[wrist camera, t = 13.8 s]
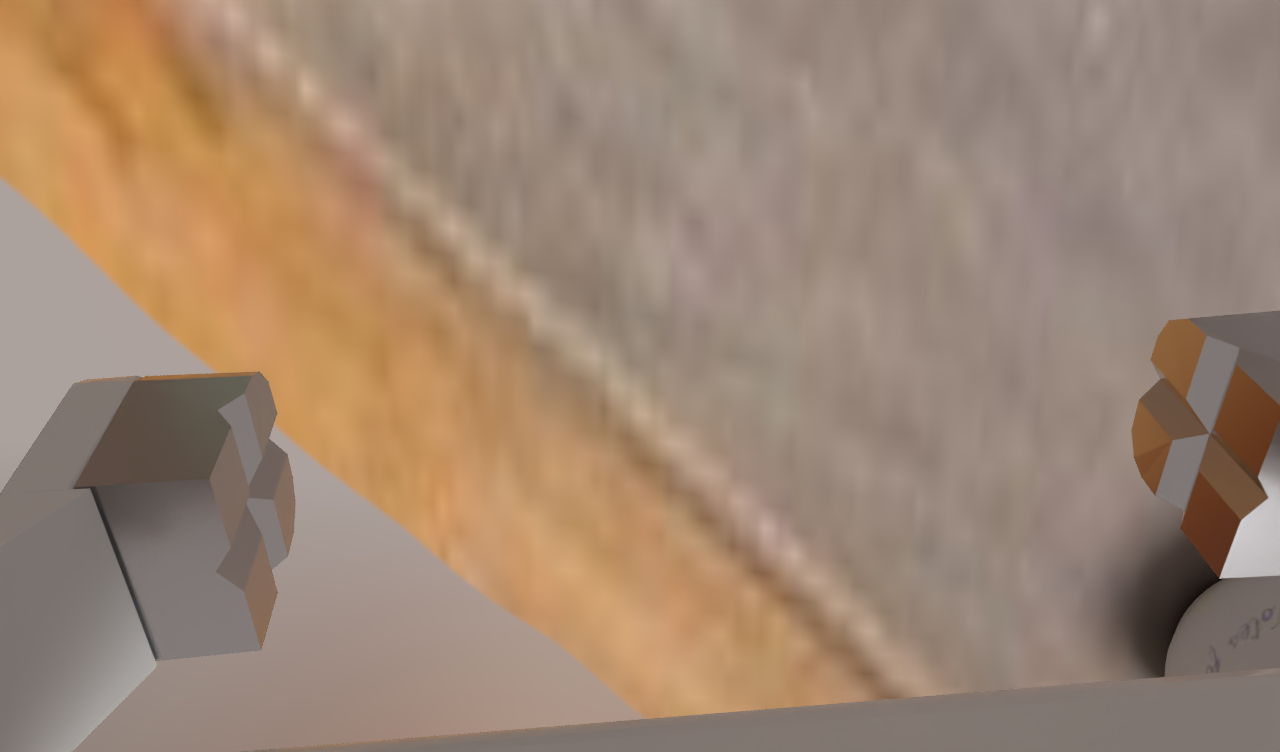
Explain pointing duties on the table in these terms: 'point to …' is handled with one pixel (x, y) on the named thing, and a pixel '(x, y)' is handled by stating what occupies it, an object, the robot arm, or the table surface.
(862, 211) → the table surface
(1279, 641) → the teacup
